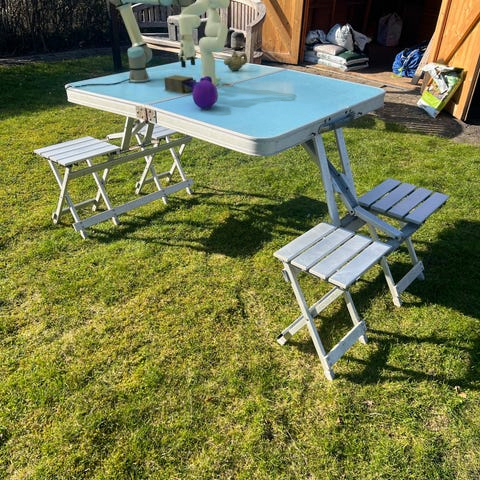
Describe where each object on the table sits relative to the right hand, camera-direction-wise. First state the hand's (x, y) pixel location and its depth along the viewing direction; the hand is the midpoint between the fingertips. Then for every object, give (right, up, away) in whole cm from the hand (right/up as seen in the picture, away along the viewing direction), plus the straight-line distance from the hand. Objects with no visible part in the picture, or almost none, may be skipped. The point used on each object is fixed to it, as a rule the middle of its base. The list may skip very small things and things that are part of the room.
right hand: (188, 66), depth 292 cm
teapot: (+30, +26, +77) cm, 87 cm away
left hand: (-4, +32, +42) cm, 52 cm away
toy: (+11, -33, -23) cm, 41 cm away
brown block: (-8, -10, +16) cm, 21 cm away
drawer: (-3, -11, +12) cm, 17 cm away
